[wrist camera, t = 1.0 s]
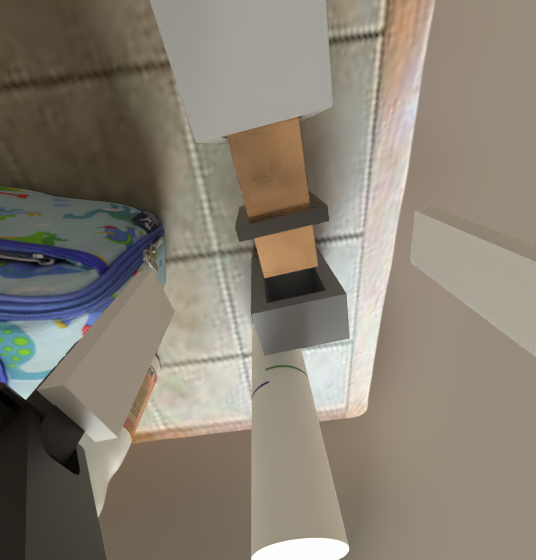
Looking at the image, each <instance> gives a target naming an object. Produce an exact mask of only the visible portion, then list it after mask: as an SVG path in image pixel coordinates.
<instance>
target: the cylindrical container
mask: <svg viewBox="0 0 536 560" xmlns="http://www.w3.org/2000/svg"><path fill="white" fill-rule="evenodd" d="M348 551H349V546H348V542H347V537H346V534H345V530H344V525H343V521H342V517H341V512H340V508H339V504H338V500H337V496H336V492H335V488H334V483H333V479H332V475H331V471H330V467H329V463H328V458H327V454H326V450H325V446H324V442H323V438H322V434H321V429H320V425H319V421H318V417H317V413H316V409H315V404H314V400H313V396H312V392H311V388H310V384H309V379H308V375H307V371H306V367H305V363H304V359H303V354H302V350H301V348H300V349H295V350H290V351H285V352H280V353H276V354H271V355H266V356H265V355H264V352H263V349H262V346H261V343H260V340H259V337H258V334H257V331H256V328H255V325H254V323H253V325H252V560H338V559H340V558H341V557H343V556H345V555H346V554H347V552H348Z"/></svg>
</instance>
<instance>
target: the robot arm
mask: <svg viewBox="0 0 536 560" xmlns="http://www.w3.org/2000/svg"><path fill="white" fill-rule="evenodd" d="M410 262H411V263H412V264H413V265H415V266H416V267H417V268H419V269H420V270H421V271H423V272H424V273H426V274H427V275H428V276H429V277H431V278H432V279H433V280H435V281H436V282H437V283H439V284H440V285H441V286H443V287H444V288H445V289H447V290H448V291H449V292H450V293H452V294H453V295H454V296H456V297H457V298H458V299H460V300H461V301H462V302H464V303H465V304H466V305H468V306H469V307H470V308H472V309H473V310H474V311H476V312H477V313H478V314H479V315H481V316H482V317H483V318H485V319H486V320H487V321H489V322H490V323H491V324H493V325H494V326H495V327H497V328H498V329H499V330H501V331H502V332H503V333H504V334H506V335H507V336H508V337H510V338H511V339H512V340H514V341H515V342H517V343H518V344H519V345H520V346H522V347H523V348H524V349H526V350H527V351H528V352H530V353H531V354H532V355H534V356H535V357H536V245H533V244H531V243H528V242H525V241H522V240H520V239H517V238H514V237H511V236H509V235H506V234H503V233H500V232H498V231H495V230H492V229H490V228H487V227H484V226H481V225H478V224H476V223H473V222H470V221H468V220H465V219H462V218H459V217H457V216H454V215H451V214H449V213H446V212H443V211H440V210H438V209H435V208H432V207H430V208H426V209H421V210H417V211H415V216H414V226H413V235H412V245H411V254H410ZM173 314H174V309H173V307H172V305H171V303H170V301H169V300H168V298H167V296H166V294H165V292H164V290H163V288H162V286H161V284H160V282H159V280H158V278H157V276H156V274H155V273H154V271H153V269H150V270H145V271H141V272H138V273H137V274H136V275H135V276H134V278H133V279H132V280H131V281H130V282H129V283H128V285H127V286H126V287H125V288H124V289H123V290H122V292H121V293H120V294H119V295H118V296H117V297H116V299H115V300H114V301H113V302H112V303H111V304H110V305H109V307H108V308H107V309H106V310H105V311H104V312H103V314H102V315H101V316H100V317H99V318H98V319H97V321H96V322H95V323H94V324H93V325H92V326H91V328H90V329H89V330H88V331H87V332H86V333H85V335H84V336H83V337H82V338H81V339H80V340H78V341H77V342H76V343H75V344H74V345H73V346H72V347H71V348H70V350H69V351H68V352H67V353H66V354H65V355H66V356H64V357H63V358H62V359H61V360H60V361H59V362H58V363H57V364H58V365H57V366H55V367H54V368H53V369H52V370H51V371H50V373H49V374H48V375H47V376H46V377H45V378H44V379H43V381H42V382H41V383H40V384H39V385H38V386H37V388H36V389H35V390H34V391H33V392H32V393H31V394H30V396H29V397H28V398H27V399H26V400H25V399H24V398H23V397H21V396H20V395H19V394H18V393H17V392H15V391H14V390H13V389H12V388H11V387H9V386H8V385H7V384H6V383H3V382H0V560H106V555H105V551H104V545H103V540H102V535H101V530H100V525H99V520H98V515H97V510H96V505H95V500H94V495H93V490H92V485H91V480H90V475H89V470H88V465H87V460H86V455H85V450H84V449H83V447H82V446H81V445H80V444H79V441H80V439H81V438H82V436H83V434H84V432H85V433H86V434H87V435H88V436H89V437H91V438H92V439H93V440H94V441H95V442H98V441H103V440H109V439H114V438H118V437H119V434H120V432H121V430H122V428H123V425H124V423H125V421H126V419H127V416H128V414H129V412H130V410H131V407H132V405H133V403H134V401H135V399H136V396H137V394H138V392H139V390H140V387H141V385H142V383H143V381H144V378H145V376H146V374H147V372H148V370H149V367H150V365H151V363H152V361H153V358H154V356H155V354H156V352H157V349H158V347H159V345H160V343H161V341H162V338H163V336H164V334H165V332H166V329H167V327H168V325H169V323H170V320H171V318H172V316H173Z"/></svg>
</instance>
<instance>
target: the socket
mask: <svg viewBox="0 0 536 560" xmlns="http://www.w3.org/2000/svg"><path fill="white" fill-rule="evenodd" d="M315 247H316V245H315ZM316 255H317V262H318V266H317V267H312V268H308V269H303V270H299V271H295V272H290V273H286V274H281V275H277V276H272V277H268V278H264V275H263V271H262V267H261V263H260V259H259V257H255V258H252V273H251V315H252V318H253V321H254V325H255V328H256V331H257V334H258V337H259V340H260V343H261V346H262V349H263V352H264V355H265V356H266V355H271V354H276V353H280V352H285V351H290V350H295V349H300V348H305V347H310V346H315V345H320V344H325V343H329V342H334V341H339V340H344V339H349V338H350V337H349V323H348V309H347V295H346V292H345V291H344V289H343V288H342V286H341V284H340V283H339V281H338V280H337V278H336V277H335V275H334V273H333V272H332V270H331V269H330V267H329V266H328V264H327V263H326V261H325V259H324V258H323V256H322V255H321V253H320V252H319V250H318V248H317V247H316Z"/></svg>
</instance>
